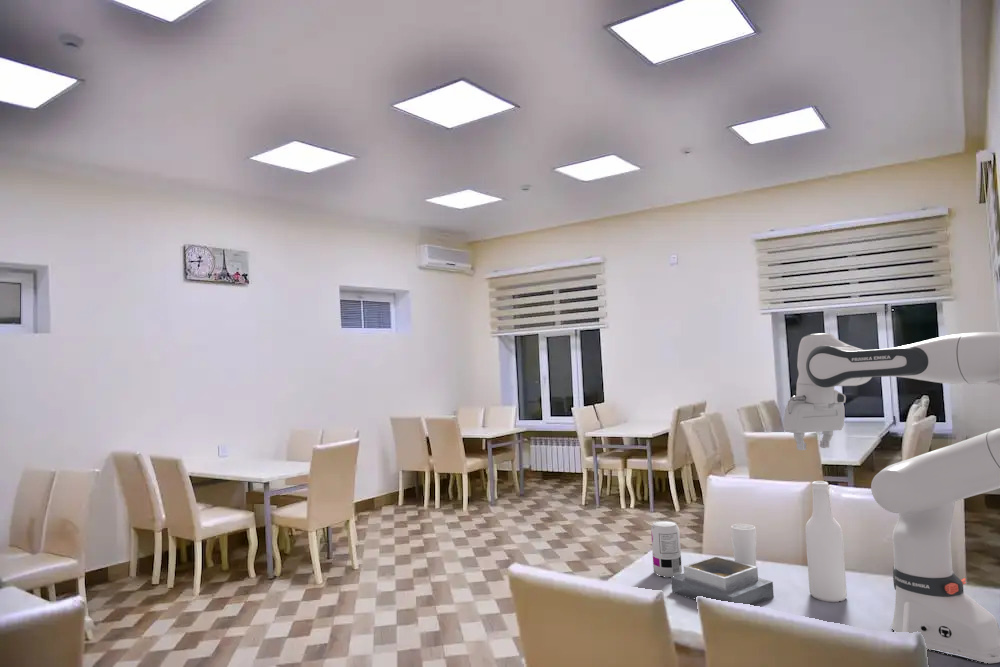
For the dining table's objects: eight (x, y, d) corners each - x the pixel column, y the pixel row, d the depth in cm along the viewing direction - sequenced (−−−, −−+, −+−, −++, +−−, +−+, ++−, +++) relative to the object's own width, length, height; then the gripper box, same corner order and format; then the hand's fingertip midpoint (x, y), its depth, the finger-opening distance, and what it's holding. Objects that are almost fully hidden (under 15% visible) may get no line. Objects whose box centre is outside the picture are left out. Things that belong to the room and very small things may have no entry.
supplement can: (648, 575, 194) (645, 524, 194) (662, 567, 200) (659, 518, 200) (673, 580, 188) (670, 528, 189) (686, 572, 194) (683, 522, 195)
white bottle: (830, 605, 164) (821, 486, 165) (802, 594, 172) (794, 481, 174) (855, 598, 167) (846, 482, 169) (826, 588, 176) (818, 477, 177)
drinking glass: (762, 582, 183) (759, 529, 183) (738, 583, 183) (735, 530, 183) (753, 574, 189) (750, 523, 190) (730, 575, 189) (727, 524, 190)
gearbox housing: (773, 596, 172) (771, 568, 172) (733, 613, 162) (731, 583, 162) (711, 578, 188) (710, 552, 189) (672, 592, 179) (670, 564, 179)
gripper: (799, 397, 159) (798, 453, 159) (850, 396, 169) (848, 448, 169) (777, 394, 165) (776, 448, 165) (827, 393, 175) (825, 444, 175)
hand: (813, 448), depth 167 cm, fingers open, 8 cm apart
